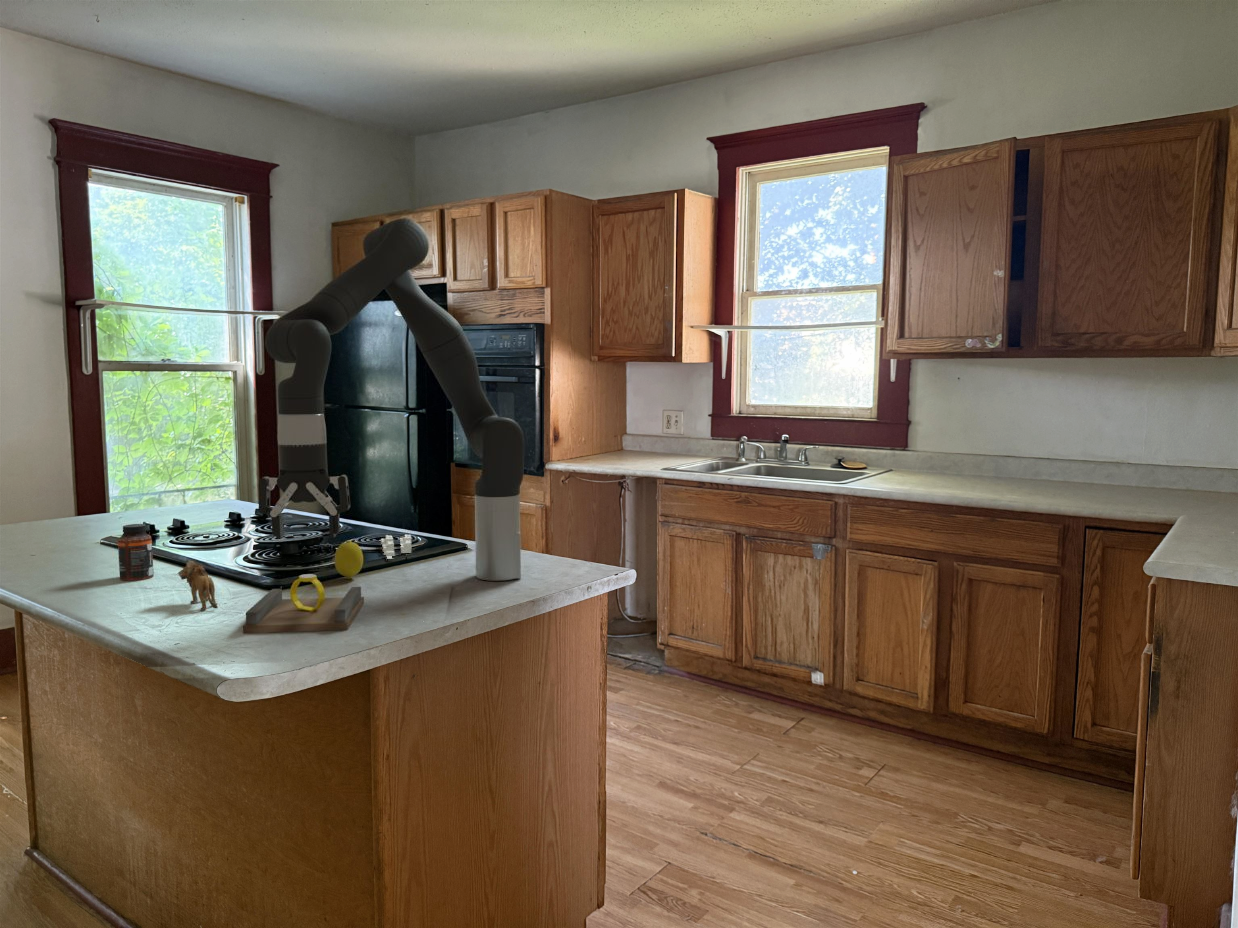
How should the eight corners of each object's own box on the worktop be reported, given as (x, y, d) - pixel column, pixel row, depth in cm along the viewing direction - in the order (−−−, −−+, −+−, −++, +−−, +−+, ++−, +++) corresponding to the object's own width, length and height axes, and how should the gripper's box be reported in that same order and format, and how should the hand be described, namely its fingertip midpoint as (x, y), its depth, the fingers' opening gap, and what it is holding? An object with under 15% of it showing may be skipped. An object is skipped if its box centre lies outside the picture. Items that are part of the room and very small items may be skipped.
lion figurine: (176, 601, 154) (175, 561, 153) (201, 597, 157) (199, 558, 156) (205, 613, 146) (203, 571, 145) (230, 608, 149) (229, 567, 148)
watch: (287, 610, 143) (286, 576, 142) (298, 606, 145) (297, 572, 145) (317, 613, 141) (316, 578, 140) (328, 609, 144) (327, 575, 143)
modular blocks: (381, 551, 204) (380, 535, 204) (410, 549, 206) (410, 533, 206) (386, 568, 185) (385, 550, 185) (418, 566, 187) (417, 548, 187)
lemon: (355, 582, 169) (354, 543, 168) (329, 581, 170) (328, 542, 169) (368, 576, 174) (367, 538, 173) (343, 575, 175) (343, 537, 175)
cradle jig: (364, 603, 153) (363, 585, 152) (347, 629, 136) (347, 610, 136) (271, 606, 150) (270, 588, 150) (242, 633, 134) (242, 613, 133)
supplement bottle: (160, 579, 171) (158, 523, 170) (132, 585, 166) (130, 528, 165) (140, 576, 174) (138, 521, 173) (113, 582, 169) (110, 526, 168)
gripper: (350, 439, 145) (354, 532, 147) (263, 440, 143) (267, 535, 144) (343, 442, 138) (346, 540, 139) (251, 443, 136) (255, 543, 137)
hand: (306, 537), depth 142 cm, fingers open, 8 cm apart
